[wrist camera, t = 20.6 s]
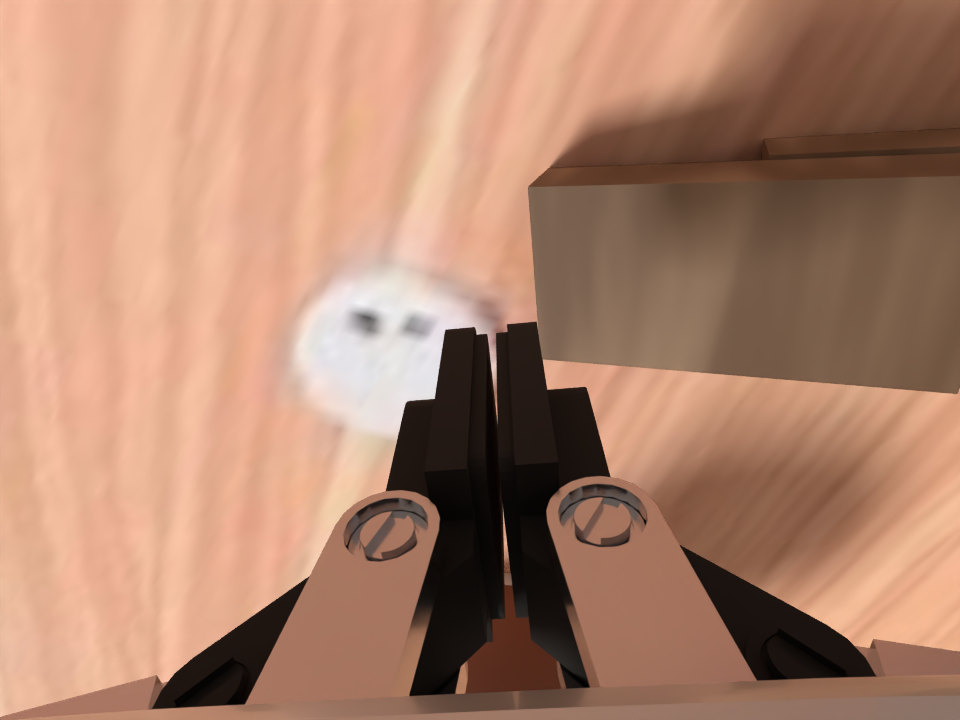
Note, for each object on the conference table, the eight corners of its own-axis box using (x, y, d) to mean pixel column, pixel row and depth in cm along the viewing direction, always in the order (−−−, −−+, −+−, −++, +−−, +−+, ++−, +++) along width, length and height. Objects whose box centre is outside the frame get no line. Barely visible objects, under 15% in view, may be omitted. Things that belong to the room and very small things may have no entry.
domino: (548, 168, 16) (996, 151, 13) (557, 328, 19) (934, 351, 15) (527, 187, 15) (1032, 174, 11) (540, 358, 17) (957, 394, 14)
